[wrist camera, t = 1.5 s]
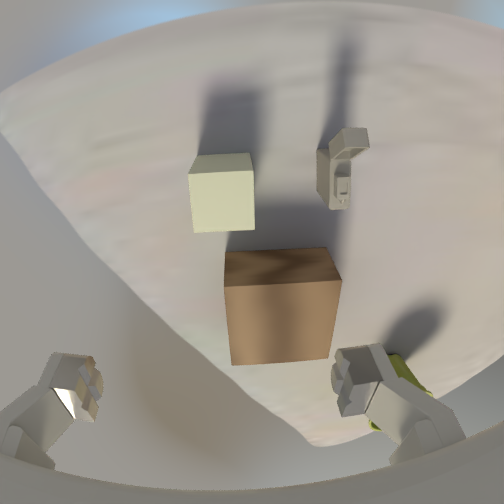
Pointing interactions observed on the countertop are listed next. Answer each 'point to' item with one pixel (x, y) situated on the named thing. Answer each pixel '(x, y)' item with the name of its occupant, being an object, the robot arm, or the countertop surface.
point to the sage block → (222, 192)
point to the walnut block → (280, 304)
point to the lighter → (339, 166)
